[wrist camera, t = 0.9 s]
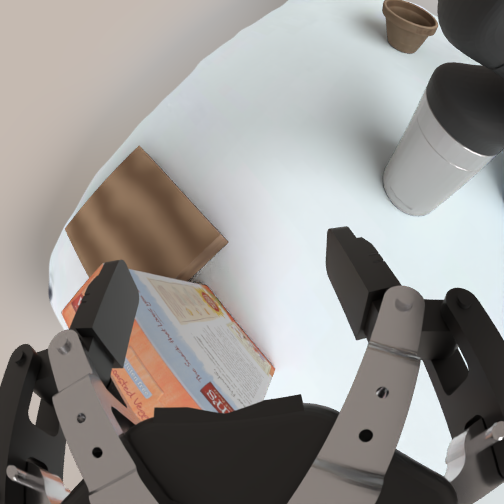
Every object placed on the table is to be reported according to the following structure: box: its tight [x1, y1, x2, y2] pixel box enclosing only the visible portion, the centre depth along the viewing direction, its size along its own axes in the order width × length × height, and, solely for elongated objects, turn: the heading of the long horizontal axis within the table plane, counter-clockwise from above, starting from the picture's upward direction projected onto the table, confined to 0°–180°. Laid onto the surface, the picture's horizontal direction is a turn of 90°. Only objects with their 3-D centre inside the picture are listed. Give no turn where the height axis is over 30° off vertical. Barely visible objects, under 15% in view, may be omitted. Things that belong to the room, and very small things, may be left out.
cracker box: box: [61, 263, 275, 421], centre depth 24 cm, size 14×6×21 cm, turn 39°
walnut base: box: [65, 146, 228, 282], centre depth 37 cm, size 18×20×4 cm
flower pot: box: [382, 0, 438, 53], centre depth 34 cm, size 12×11×10 cm
